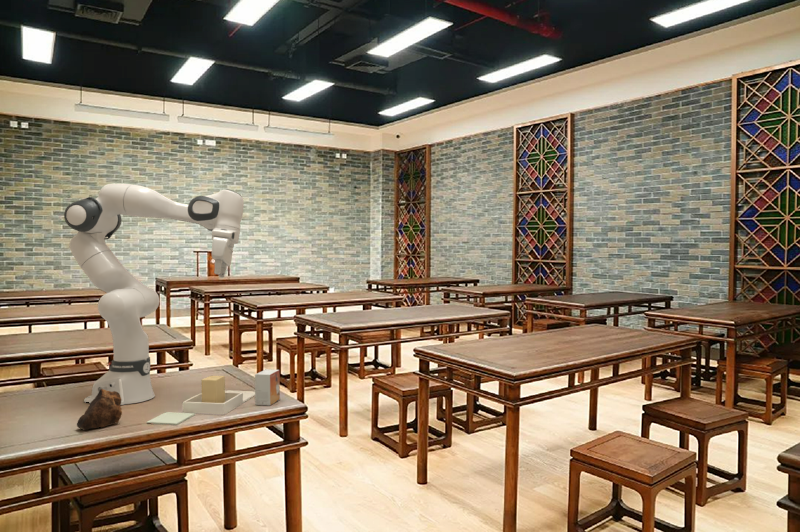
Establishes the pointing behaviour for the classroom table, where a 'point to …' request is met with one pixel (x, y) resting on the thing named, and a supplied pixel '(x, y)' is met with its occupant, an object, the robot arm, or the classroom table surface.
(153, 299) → the robot arm
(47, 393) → the classroom table surface
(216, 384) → the block
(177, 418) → the sage mat
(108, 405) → the decorative rock
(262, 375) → the small box
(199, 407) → the box
